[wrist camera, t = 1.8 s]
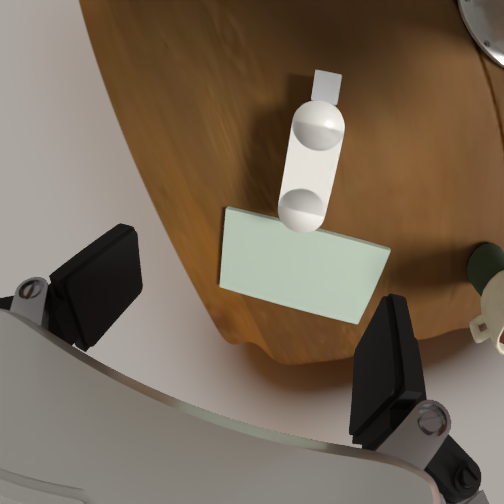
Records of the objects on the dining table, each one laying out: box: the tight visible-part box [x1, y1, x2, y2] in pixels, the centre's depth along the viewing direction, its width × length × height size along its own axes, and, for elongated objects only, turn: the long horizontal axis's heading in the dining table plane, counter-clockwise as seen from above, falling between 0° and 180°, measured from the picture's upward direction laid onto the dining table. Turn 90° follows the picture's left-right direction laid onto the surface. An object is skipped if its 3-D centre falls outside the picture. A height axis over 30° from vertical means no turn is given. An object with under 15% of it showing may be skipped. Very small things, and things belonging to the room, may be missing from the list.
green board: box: [220, 206, 390, 324], centre depth 36 cm, size 20×12×1 cm, turn 83°
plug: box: [278, 70, 345, 233], centre depth 25 cm, size 4×15×6 cm, turn 173°
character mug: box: [467, 243, 504, 355], centre depth 22 cm, size 11×7×13 cm, turn 132°
